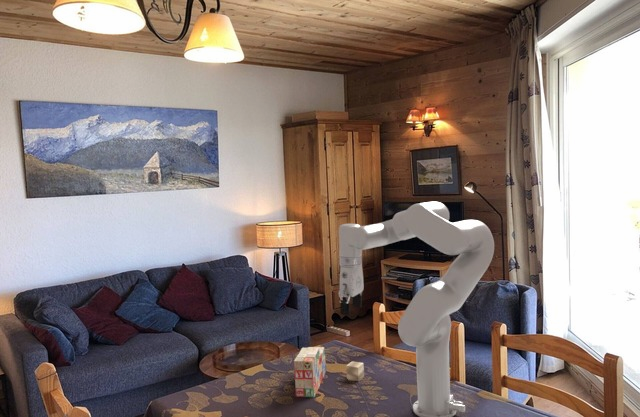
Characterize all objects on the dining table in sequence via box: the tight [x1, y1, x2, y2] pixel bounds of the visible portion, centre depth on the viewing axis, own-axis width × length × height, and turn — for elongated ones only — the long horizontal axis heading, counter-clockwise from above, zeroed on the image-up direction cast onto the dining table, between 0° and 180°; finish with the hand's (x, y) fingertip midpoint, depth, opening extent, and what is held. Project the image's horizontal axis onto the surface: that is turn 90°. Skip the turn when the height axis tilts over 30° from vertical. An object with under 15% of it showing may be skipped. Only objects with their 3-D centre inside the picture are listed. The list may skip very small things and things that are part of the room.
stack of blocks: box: [293, 346, 327, 398], centre depth 174 cm, size 21×6×12 cm, turn 169°
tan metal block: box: [346, 360, 365, 382], centre depth 176 cm, size 4×4×5 cm
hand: (351, 310), depth 170 cm, fingers open, 9 cm apart
